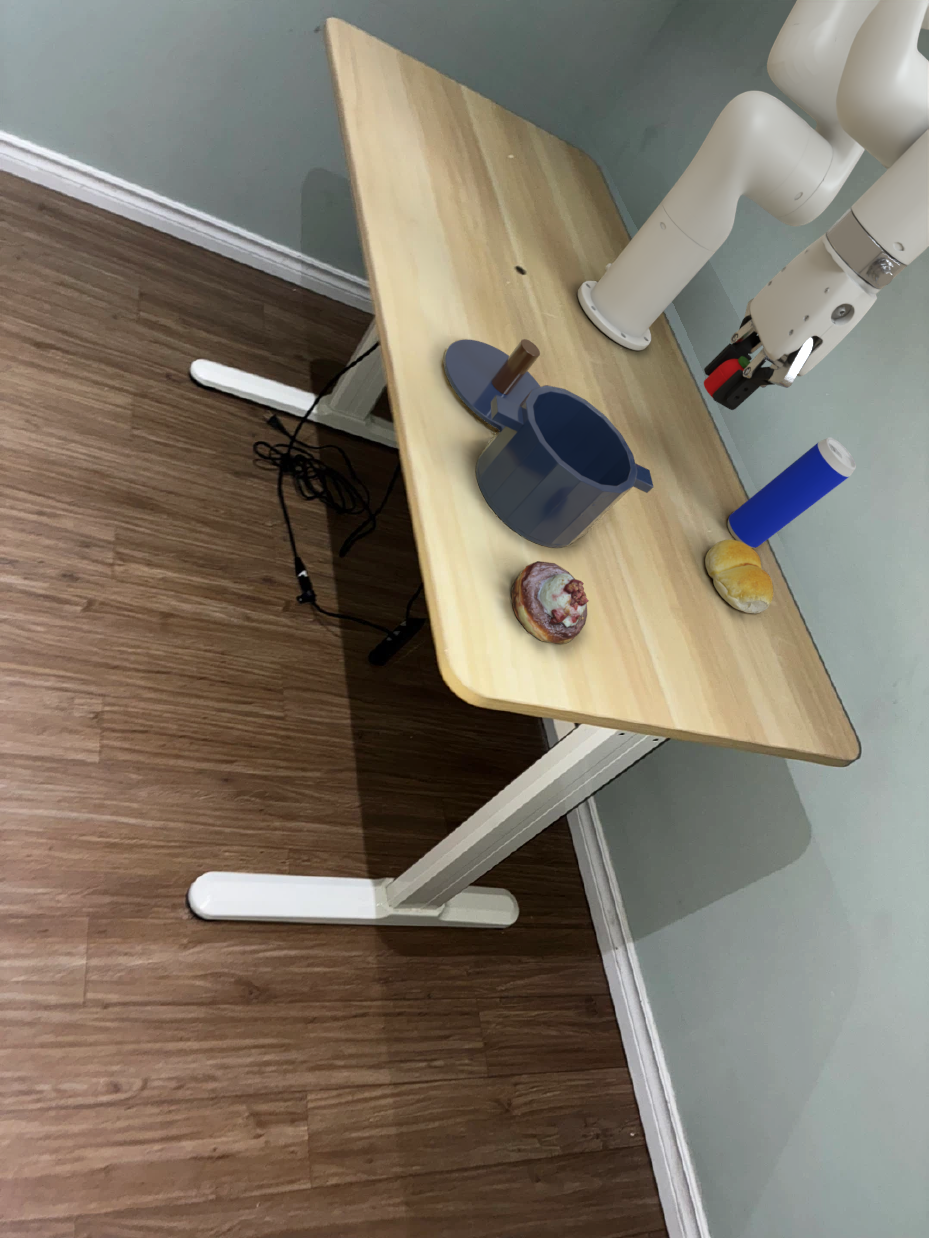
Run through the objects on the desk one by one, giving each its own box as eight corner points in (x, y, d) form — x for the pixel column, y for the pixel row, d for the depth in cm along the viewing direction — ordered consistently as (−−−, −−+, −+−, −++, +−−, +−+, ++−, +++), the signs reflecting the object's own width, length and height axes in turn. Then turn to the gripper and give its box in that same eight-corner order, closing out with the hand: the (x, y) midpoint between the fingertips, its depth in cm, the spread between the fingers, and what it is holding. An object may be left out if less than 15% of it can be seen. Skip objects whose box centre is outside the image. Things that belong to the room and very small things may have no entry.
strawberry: (700, 375, 89) (731, 344, 86) (723, 388, 91) (754, 359, 87) (707, 396, 87) (738, 366, 84) (730, 410, 88) (763, 380, 85)
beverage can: (755, 532, 103) (855, 453, 93) (756, 557, 99) (860, 478, 89) (724, 510, 102) (823, 428, 92) (724, 534, 98) (827, 452, 88)
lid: (439, 328, 88) (471, 279, 84) (540, 380, 94) (575, 337, 90) (441, 409, 80) (477, 359, 76) (552, 460, 86) (591, 417, 82)
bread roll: (737, 556, 97) (763, 536, 94) (766, 619, 92) (794, 600, 90) (690, 543, 92) (716, 522, 90) (719, 609, 88) (747, 588, 85)
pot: (449, 418, 80) (497, 353, 74) (592, 484, 88) (645, 430, 82) (453, 510, 72) (506, 446, 67) (609, 573, 80) (669, 521, 75)
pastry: (540, 656, 68) (577, 624, 65) (491, 583, 70) (524, 549, 66) (592, 631, 74) (629, 601, 70) (546, 565, 75) (579, 533, 72)
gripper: (918, 323, 73) (759, 456, 85) (860, 226, 82) (725, 358, 95) (864, 284, 69) (708, 428, 82) (810, 187, 79) (678, 329, 92)
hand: (718, 389), depth 88 cm, fingers closed on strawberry, 3 cm apart
